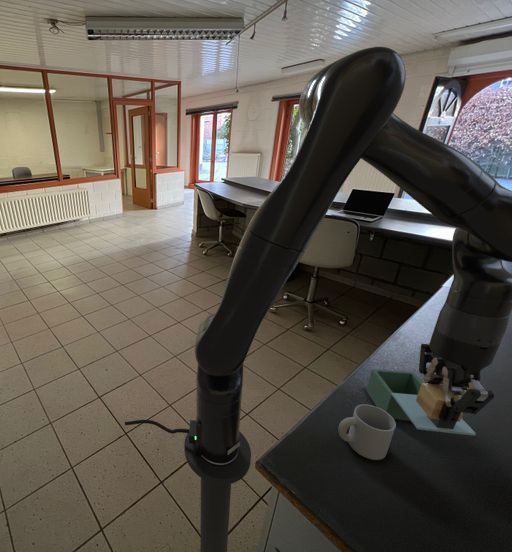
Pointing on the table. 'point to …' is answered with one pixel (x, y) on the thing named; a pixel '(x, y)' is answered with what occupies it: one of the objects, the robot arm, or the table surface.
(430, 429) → the teal box lid
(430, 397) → the block
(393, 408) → the display box
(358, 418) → the cup
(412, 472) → the table surface
